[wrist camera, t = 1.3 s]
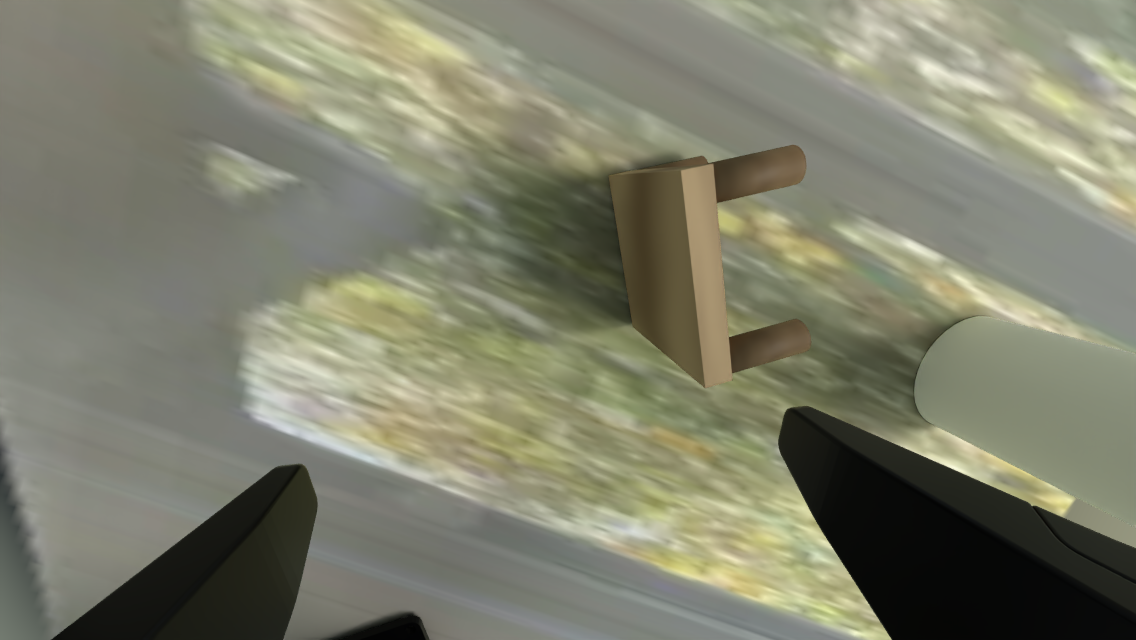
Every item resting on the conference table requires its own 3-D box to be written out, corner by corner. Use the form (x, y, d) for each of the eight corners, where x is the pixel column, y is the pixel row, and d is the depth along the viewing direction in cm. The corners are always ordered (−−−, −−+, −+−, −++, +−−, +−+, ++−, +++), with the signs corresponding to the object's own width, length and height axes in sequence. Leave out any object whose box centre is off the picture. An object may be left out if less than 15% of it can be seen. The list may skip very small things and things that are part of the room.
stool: (805, 143, 14) (681, 170, 13) (811, 356, 16) (705, 388, 15) (694, 156, 20) (608, 175, 20) (709, 306, 22) (632, 326, 22)
